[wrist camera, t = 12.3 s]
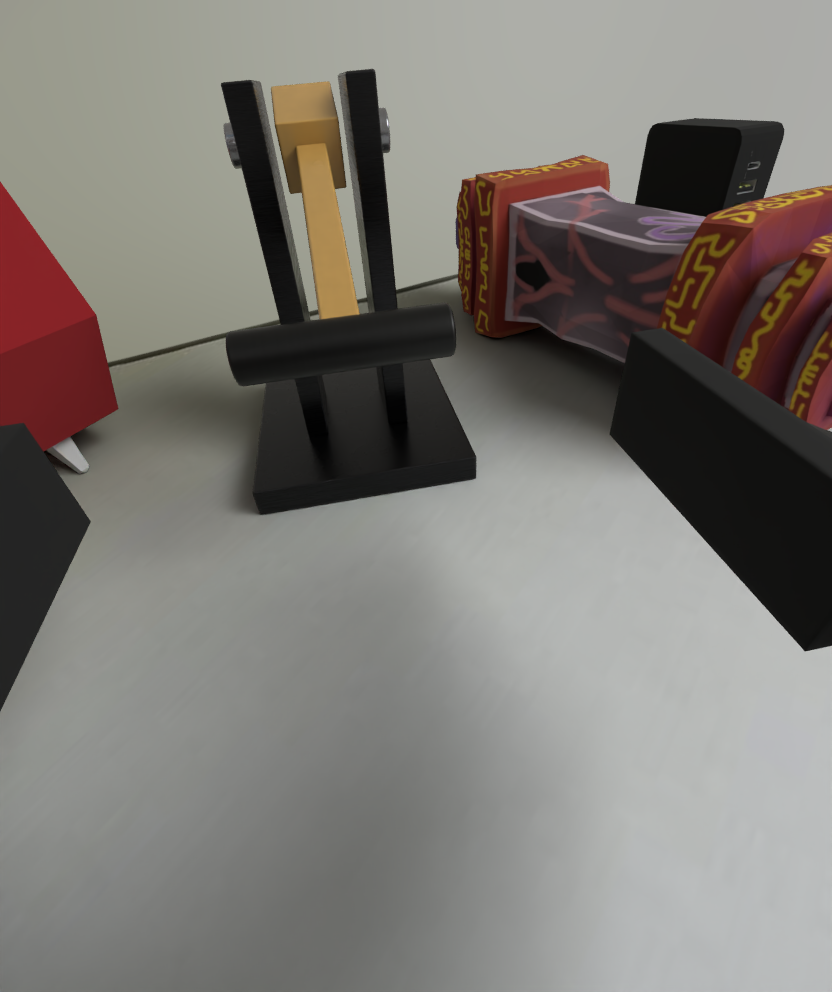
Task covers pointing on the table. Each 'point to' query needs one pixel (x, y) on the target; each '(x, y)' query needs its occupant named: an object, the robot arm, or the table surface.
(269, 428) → the switch bracket
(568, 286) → the red patterned flared cylinder
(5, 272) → the alarm clock
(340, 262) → the light lever
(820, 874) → the table surface
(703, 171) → the electronic device
